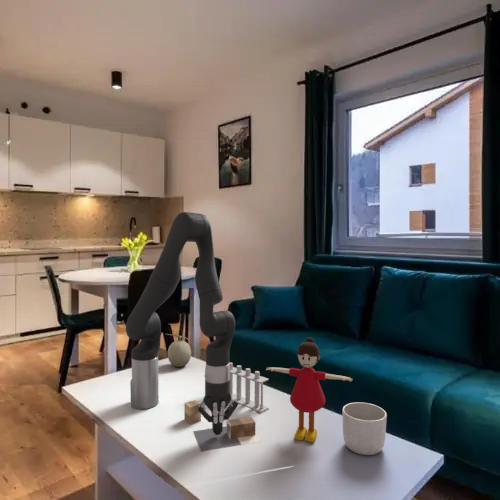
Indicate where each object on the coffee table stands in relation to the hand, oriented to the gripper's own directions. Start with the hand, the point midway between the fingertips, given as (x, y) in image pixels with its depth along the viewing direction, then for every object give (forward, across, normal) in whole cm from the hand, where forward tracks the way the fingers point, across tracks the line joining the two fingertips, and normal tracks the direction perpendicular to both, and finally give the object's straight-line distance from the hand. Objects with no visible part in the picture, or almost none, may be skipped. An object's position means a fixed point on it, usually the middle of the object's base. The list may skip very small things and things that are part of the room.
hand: (217, 433), depth 127 cm
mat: (+2, +3, 0) cm, 3 cm away
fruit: (+2, 0, +68) cm, 68 cm away
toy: (+2, +27, -7) cm, 28 cm away
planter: (+2, +39, -18) cm, 43 cm away
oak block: (+2, -5, +13) cm, 14 cm away
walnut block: (-1, +3, 0) cm, 3 cm away
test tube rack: (+2, +14, +24) cm, 28 cm away
